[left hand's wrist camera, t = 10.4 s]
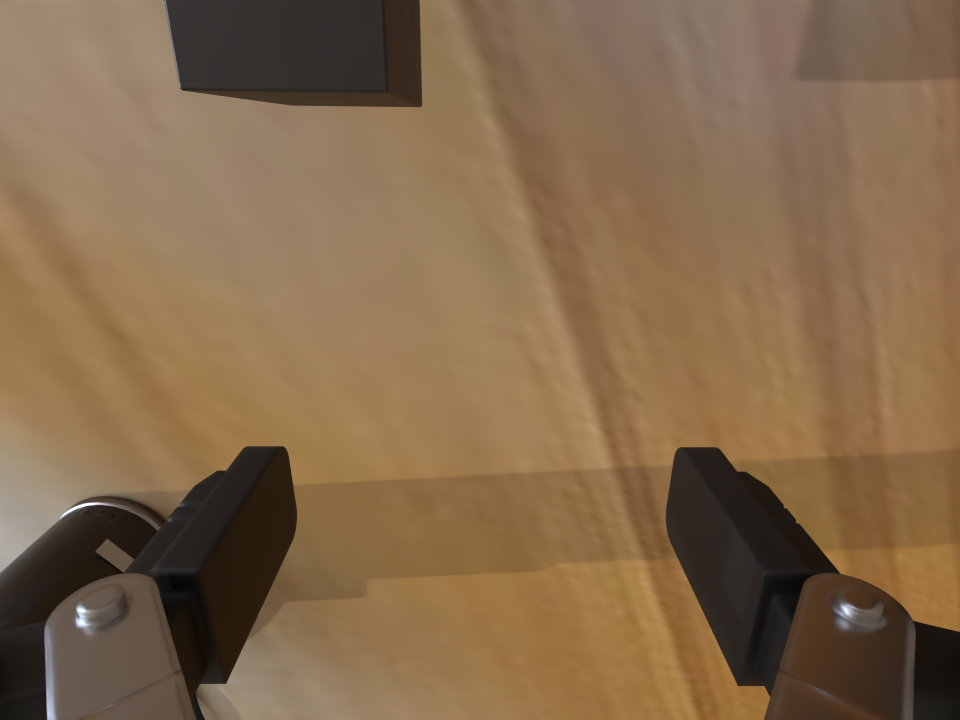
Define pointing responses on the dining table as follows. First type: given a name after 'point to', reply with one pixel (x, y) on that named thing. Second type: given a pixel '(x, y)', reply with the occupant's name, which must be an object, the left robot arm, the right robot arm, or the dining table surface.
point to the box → (300, 50)
